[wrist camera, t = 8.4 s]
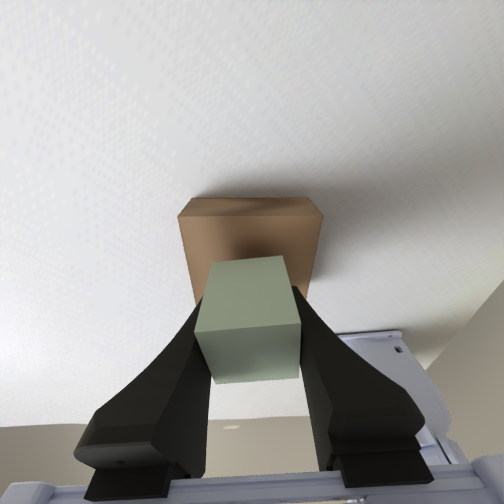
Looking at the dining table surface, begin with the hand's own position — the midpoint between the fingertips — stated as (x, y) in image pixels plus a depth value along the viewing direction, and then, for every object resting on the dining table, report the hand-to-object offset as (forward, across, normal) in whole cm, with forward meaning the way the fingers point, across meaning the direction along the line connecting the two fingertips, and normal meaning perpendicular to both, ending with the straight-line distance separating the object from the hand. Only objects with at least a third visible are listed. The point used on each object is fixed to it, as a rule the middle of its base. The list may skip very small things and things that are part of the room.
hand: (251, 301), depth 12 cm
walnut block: (+7, 0, 0) cm, 7 cm away
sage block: (+1, 0, 0) cm, 1 cm away
